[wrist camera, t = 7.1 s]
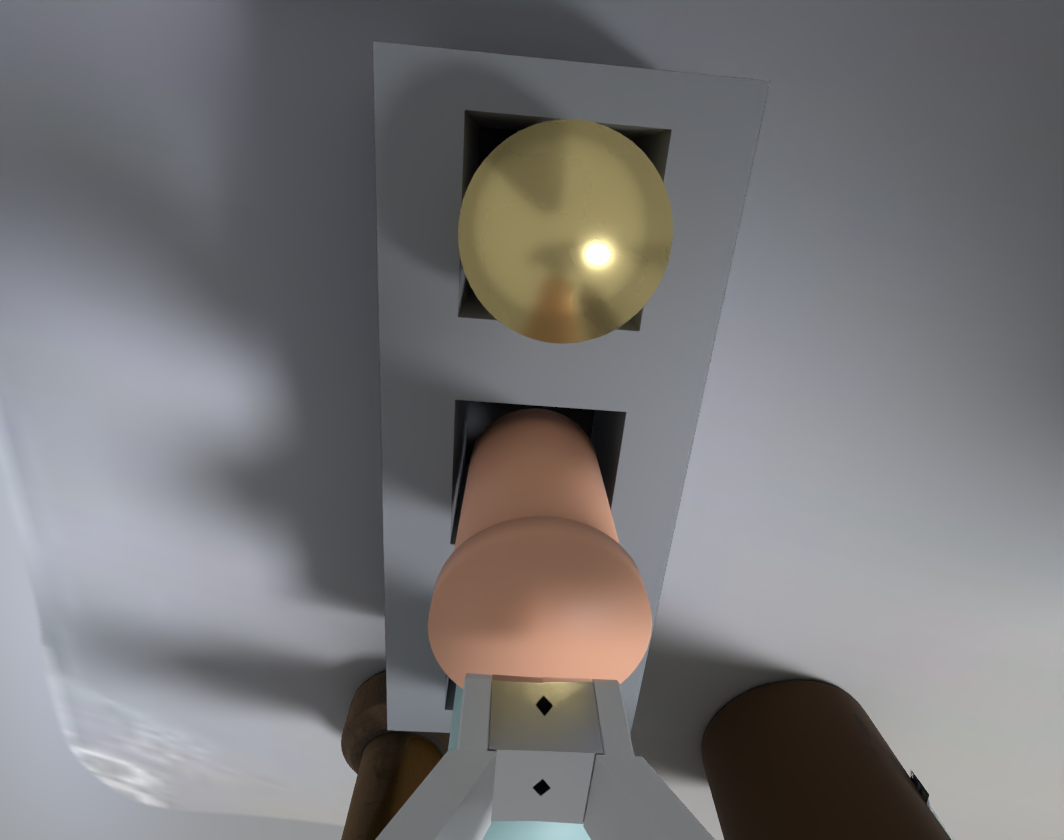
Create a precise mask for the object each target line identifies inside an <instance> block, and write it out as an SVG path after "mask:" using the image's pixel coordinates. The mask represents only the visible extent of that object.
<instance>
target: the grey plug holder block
mask: <svg viewBox="0 0 1064 840" xmlns="http://www.w3.org/2000/svg"><path fill="white" fill-rule="evenodd" d="M373 74H374V121H375V168H376V215H377V262H378V309H379V356H380V403H381V451H382V498H383V545H384V592H385V639H386V686H387V730H395V731H418V732H441V733H450V730H451V722H452V714H453V706H454V699H455V691H456V683H455V682H454V681H453V680H451V679H450V678H449V677H448V675H447V674H446V673H445V672H444V671H443V669H442V668H441V666H440V665H439V663H438V662H437V660H436V658H435V656H434V653H433V651H432V649H431V645H430V641H429V637H428V618H429V611H430V606H431V601H432V597H433V592H434V588H435V584H436V580H437V577H438V575H439V573H440V571H441V569H442V567H443V565H444V564H445V562H446V561H447V559H448V558H449V557H450V555H451V554H452V553H453V552H454V548H455V543H456V537H457V532H458V526H459V520H460V515H461V509H462V503H463V498H464V492H465V487H466V481H467V475H468V470H469V464H466V442H467V418H468V401H480V402H494V403H508V404H522V405H536V406H550V407H564V408H578V409H592V410H595V413H594V420H593V428H592V435H591V442H592V444H593V447H594V449H595V453H596V456H597V460H598V464H599V468H600V472H601V475H602V479H603V483H604V487H605V491H606V494H607V498H608V502H609V506H610V510H611V513H612V517H613V521H614V525H615V528H616V532H617V536H618V540H619V544H620V545H621V546H622V547H623V548H624V549H625V550H626V551H627V553H628V554H629V555H630V556H631V558H632V559H633V561H634V562H635V564H636V566H637V567H638V569H639V572H640V574H641V577H642V580H643V583H644V586H645V590H646V593H647V597H648V600H649V603H650V608H651V613H652V632H653V627H654V622H655V618H656V613H657V608H658V604H659V599H660V594H661V590H662V585H663V580H664V576H665V571H666V566H667V562H668V557H669V552H670V547H671V543H672V538H673V533H674V529H675V524H676V519H677V515H678V510H679V505H680V501H681V496H682V491H683V487H684V482H685V477H686V473H687V468H688V463H689V459H690V454H691V449H692V444H693V440H694V435H695V430H696V426H697V421H698V416H699V412H700V407H701V402H702V398H703V393H704V388H705V384H706V379H707V374H708V370H709V365H710V360H711V356H712V351H713V346H714V341H715V337H716V332H717V327H718V323H719V318H720V313H721V309H722V304H723V299H724V295H725V290H726V285H727V281H728V276H729V271H730V267H731V262H732V257H733V253H734V248H735V243H736V238H737V234H738V229H739V224H740V220H741V215H742V210H743V206H744V201H745V196H746V192H747V187H748V182H749V178H750V173H751V168H752V164H753V159H754V154H755V150H756V145H757V140H758V135H759V131H760V126H761V121H762V117H763V112H764V107H765V103H766V98H767V93H768V89H769V84H770V81H765V80H755V79H745V78H735V77H725V76H715V75H705V74H695V73H685V72H675V71H665V70H655V69H645V68H635V67H626V66H616V65H606V64H596V63H586V62H576V61H566V60H556V59H546V58H536V57H526V56H516V55H506V54H496V53H486V52H476V51H466V50H456V49H446V48H436V47H427V46H417V45H407V44H397V43H387V42H377V41H373ZM559 119H579V120H585V121H591V122H595V123H598V124H601V125H604V126H607V127H609V128H611V129H613V130H615V131H617V132H619V133H621V134H622V135H624V136H625V137H627V138H628V139H629V140H631V141H632V142H633V143H635V144H636V145H637V146H638V147H639V148H640V149H641V150H642V151H643V152H644V153H645V154H646V156H647V157H648V158H649V159H650V161H651V162H652V163H653V165H654V166H655V168H656V170H657V171H658V173H659V175H660V176H661V178H662V181H663V183H664V185H665V188H666V190H667V194H668V197H669V201H670V204H671V211H672V218H673V238H672V247H671V252H670V256H669V261H668V264H667V267H666V269H665V272H664V275H663V277H662V279H661V281H660V283H659V285H658V287H657V289H656V290H655V292H654V293H653V295H652V296H651V298H650V299H649V301H648V302H647V303H646V304H645V305H644V306H643V308H642V309H641V310H640V311H639V312H638V313H637V314H636V315H634V316H633V317H632V318H631V319H630V320H629V321H627V322H626V323H625V324H623V325H622V326H620V327H619V328H617V329H615V330H613V331H612V332H610V333H608V334H606V335H603V336H600V337H598V338H595V339H592V340H588V341H584V342H578V343H569V344H558V343H548V342H542V341H538V340H534V339H531V338H528V337H526V336H523V335H521V334H518V333H516V332H515V331H513V330H511V329H509V328H508V327H506V326H505V325H503V324H502V323H501V322H500V321H498V320H497V319H496V318H495V317H494V316H493V315H492V314H491V313H490V312H489V311H487V310H486V308H485V307H484V306H483V305H482V303H481V302H480V301H479V299H478V298H477V297H476V295H475V293H474V291H473V290H472V288H471V286H470V284H469V282H468V280H467V277H466V275H465V272H464V269H463V265H462V262H461V258H460V251H459V245H458V225H459V215H460V211H461V206H462V202H463V199H464V196H465V193H466V190H467V188H468V185H469V184H470V182H471V180H472V178H473V176H474V174H475V172H476V171H477V169H478V162H479V139H480V127H489V128H500V129H510V130H523V129H525V128H527V127H529V126H532V125H535V124H538V123H542V122H545V121H551V120H559ZM652 632H651V636H652ZM650 641H651V638H650ZM650 641H649V645H648V648H647V650H646V652H645V654H644V657H643V659H642V660H641V662H640V663H639V665H638V666H637V668H636V669H635V670H634V671H633V672H632V673H631V675H630V676H629V677H628V678H627V679H626V680H624V681H623V682H622V683H621V684H620V687H621V692H622V697H623V702H624V707H625V712H626V717H627V722H628V727H629V731H630V735H631V730H632V725H633V721H634V716H635V711H636V707H637V702H638V697H639V693H640V688H641V683H642V679H643V674H644V669H645V665H646V660H647V655H648V650H649V646H650Z"/></svg>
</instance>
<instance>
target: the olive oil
mask: <svg viewBox="0 0 1064 840" xmlns="http://www.w3.org/2000/svg"><path fill="white" fill-rule="evenodd" d="M701 750H702V759H703V764H704V768H705V771H706V775H707V779H708V782H709V786H710V790H711V793H712V797H713V800H714V804H715V808H716V811H717V815H718V818H719V822H720V826H721V829H722V833H723V836H724V840H953V838H952V837H951V835H950V834H949V833H948V831H947V830H946V828H945V827H944V825H943V824H942V823H941V821H940V820H939V818H938V817H937V815H936V814H935V813H934V811H933V810H932V808H931V807H930V804H929V800H928V797H929V794H928V792H927V791H926V790H925V788H924V787H923V785H922V784H921V783H920V781H919V780H918V779H917V777H916V776H915V775H914V774H913V778H912V776H911V778H910V777H909V776H908V774H907V773H906V771H905V770H904V768H903V767H902V765H901V764H900V762H899V761H898V759H897V758H896V756H895V755H894V753H893V752H892V750H891V749H890V747H889V746H888V744H887V743H886V741H885V740H884V739H883V737H882V736H881V734H880V733H879V731H878V730H877V728H876V727H875V725H874V724H873V722H872V721H871V719H870V718H869V716H868V715H867V713H866V712H865V711H864V709H863V708H862V707H861V705H860V704H859V703H858V702H857V701H856V700H855V699H854V698H853V697H852V696H851V695H849V694H848V693H846V692H845V691H843V690H841V689H839V688H837V687H834V686H832V685H828V684H825V683H820V682H815V681H805V680H793V681H783V682H777V683H772V684H768V685H764V686H761V687H758V688H756V689H753V690H751V691H749V692H746V693H744V694H742V695H741V696H739V697H737V698H736V699H734V700H733V701H731V702H730V703H728V704H727V705H726V706H725V707H724V708H722V709H721V710H720V711H719V712H718V713H717V715H716V716H715V717H714V718H713V720H712V721H711V722H710V724H709V726H708V727H707V729H706V731H705V734H704V737H703V740H702V748H701ZM911 772H912V771H911ZM912 773H913V772H912ZM912 773H911V774H912Z"/></svg>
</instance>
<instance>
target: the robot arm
mask: <svg viewBox="0 0 1064 840" xmlns="http://www.w3.org/2000/svg"><path fill="white" fill-rule="evenodd" d="M491 680H492V682H491ZM491 821H542V822H558V823H575V824H584V825H583V827H584V829H585V830H586V832H587V834H588V836H589V837H590V839H591V840H715V839H714V838H713V837H712V836H711V835H710V833H709V832H708V831H707V830H706V829H705V828H704V827H703V825H702V824H701V823H700V822H699V821H698V820H697V819H696V817H695V816H694V815H693V814H692V813H691V812H690V811H689V809H688V808H687V807H686V806H685V805H684V804H683V803H682V801H681V800H680V799H679V798H678V797H677V796H676V795H675V793H674V792H673V791H672V790H671V789H670V788H669V787H668V785H667V784H666V783H665V782H664V781H663V780H662V779H661V777H660V776H659V775H658V774H657V773H656V772H655V771H654V769H653V768H652V767H651V766H650V765H649V764H648V763H647V761H646V760H645V759H644V758H643V757H641V756H634V751H633V746H632V741H631V736H630V731H629V727H628V722H627V717H626V712H625V707H624V702H623V697H622V692H621V687H620V684H619V682H618V681H617V680H607V679H592V680H591V679H584V678H552V677H541V678H537V677H523V676H508V675H494V674H492V678H491V675H488V674H473V673H466V676H465V679H464V687H463V697H462V706H461V716H460V725H459V734H458V744H457V750H453V749H449V750H448V751H447V753H446V754H445V755H444V756H443V757H442V759H441V760H440V761H439V762H438V764H437V765H436V766H435V767H434V768H433V770H432V771H431V772H430V773H429V775H428V776H427V777H426V778H425V779H424V781H423V782H422V783H421V784H420V786H419V787H418V788H417V789H416V790H415V792H414V793H413V794H412V795H411V797H410V798H409V799H408V800H407V801H406V803H405V804H404V805H403V806H402V808H401V809H400V810H399V811H398V812H397V814H396V815H395V816H394V817H393V818H392V820H391V821H390V822H389V823H388V825H387V826H386V827H385V828H384V829H383V831H382V832H381V833H380V834H379V836H378V837H377V838H376V839H375V840H482V839H483V837H484V835H485V834H486V832H487V830H488V828H489V827H490V825H491Z"/></svg>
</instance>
